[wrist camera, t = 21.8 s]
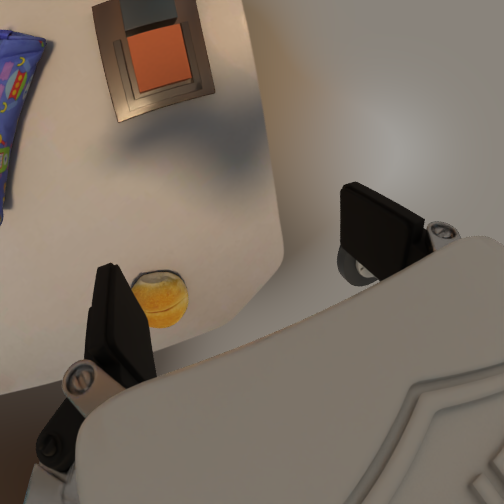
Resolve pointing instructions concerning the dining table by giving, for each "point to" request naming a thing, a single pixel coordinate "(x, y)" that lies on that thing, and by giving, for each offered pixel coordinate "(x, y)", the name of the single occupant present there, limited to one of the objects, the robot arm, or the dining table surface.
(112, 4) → the brown wooden tray
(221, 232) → the dining table surface
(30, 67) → the pencil case
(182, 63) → the orange block
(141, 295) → the bread roll
